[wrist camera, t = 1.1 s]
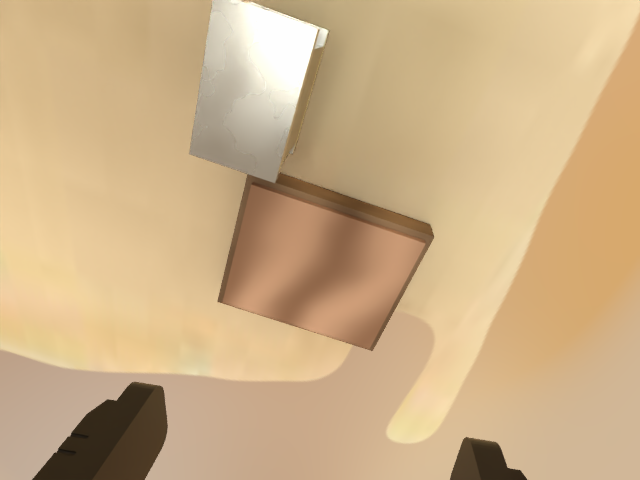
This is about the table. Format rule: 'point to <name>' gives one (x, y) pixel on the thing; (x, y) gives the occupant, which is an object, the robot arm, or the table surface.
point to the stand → (320, 259)
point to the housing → (254, 86)
